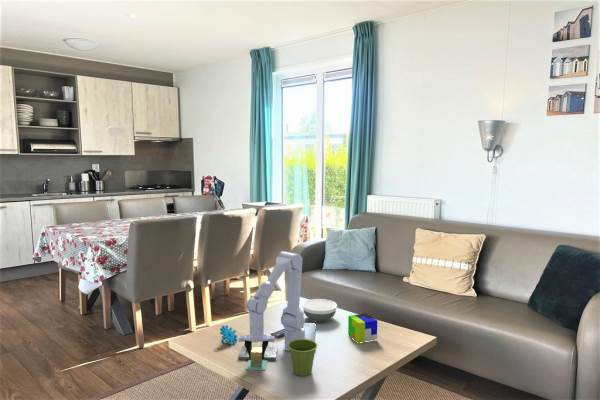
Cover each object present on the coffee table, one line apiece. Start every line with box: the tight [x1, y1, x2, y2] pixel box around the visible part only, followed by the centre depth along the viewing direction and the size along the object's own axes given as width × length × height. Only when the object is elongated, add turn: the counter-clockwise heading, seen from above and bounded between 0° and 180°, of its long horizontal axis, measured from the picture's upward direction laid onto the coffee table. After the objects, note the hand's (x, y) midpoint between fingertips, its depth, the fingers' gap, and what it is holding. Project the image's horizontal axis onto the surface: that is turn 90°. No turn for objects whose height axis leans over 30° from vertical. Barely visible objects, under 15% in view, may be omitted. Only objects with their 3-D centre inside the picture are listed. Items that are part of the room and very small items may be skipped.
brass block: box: [251, 346, 263, 367], centre depth 172 cm, size 4×4×6 cm
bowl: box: [302, 298, 338, 323], centre depth 222 cm, size 19×19×8 cm
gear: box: [219, 325, 238, 345], centre depth 194 cm, size 11×6×10 cm
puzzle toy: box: [347, 312, 378, 344], centre depth 199 cm, size 10×10×10 cm
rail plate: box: [237, 345, 279, 362], centre depth 181 cm, size 16×10×1 cm, turn 88°
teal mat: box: [245, 360, 268, 371], centre depth 172 cm, size 8×8×1 cm
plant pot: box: [288, 338, 319, 377], centre depth 166 cm, size 12×12×11 cm
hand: (256, 358), depth 172 cm, fingers closed on brass block, 4 cm apart
